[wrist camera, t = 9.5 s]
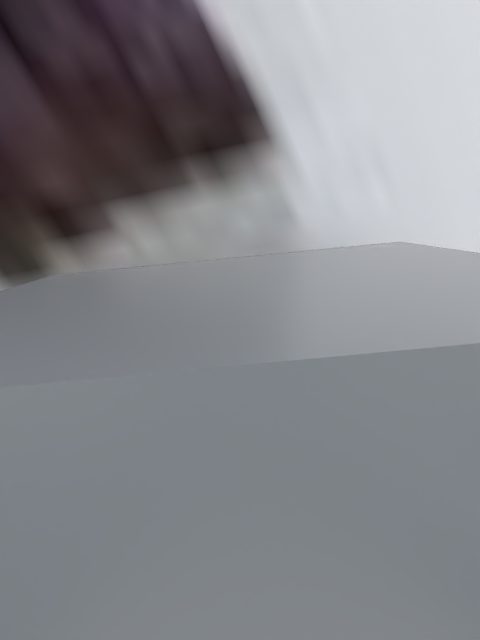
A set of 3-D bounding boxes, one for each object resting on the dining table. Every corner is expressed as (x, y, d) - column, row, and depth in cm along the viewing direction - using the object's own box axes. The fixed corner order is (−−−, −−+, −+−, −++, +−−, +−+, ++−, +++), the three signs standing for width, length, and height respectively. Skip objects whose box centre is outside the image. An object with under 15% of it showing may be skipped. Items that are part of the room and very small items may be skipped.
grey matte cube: (53, 275, 12) (-440, 428, 3) (399, 242, 12) (863, 306, 3) (113, 557, 14) (-71, 1065, 6) (398, 533, 14) (647, 1017, 6)
